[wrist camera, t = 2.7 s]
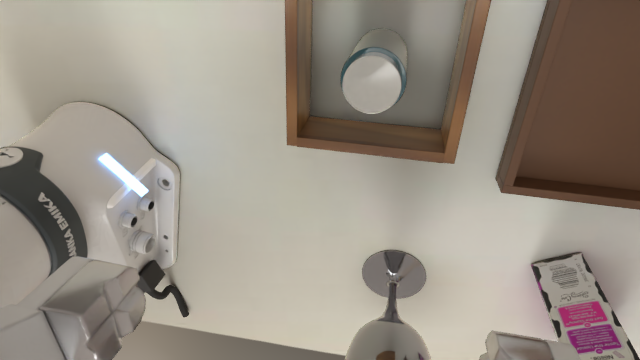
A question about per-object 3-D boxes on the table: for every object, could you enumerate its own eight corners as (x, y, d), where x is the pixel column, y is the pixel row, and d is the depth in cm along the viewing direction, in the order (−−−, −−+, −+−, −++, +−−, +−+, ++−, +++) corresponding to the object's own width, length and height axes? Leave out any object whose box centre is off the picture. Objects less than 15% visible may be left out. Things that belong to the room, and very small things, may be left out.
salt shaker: (403, 83, 34) (401, 121, 26) (353, 79, 34) (336, 115, 27) (411, 29, 32) (411, 53, 24) (356, 26, 32) (339, 48, 24)
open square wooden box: (448, 138, 35) (454, 164, 31) (301, 123, 38) (286, 145, 33) (485, -34, 29) (498, -33, 24) (302, -41, 31) (284, -40, 26)
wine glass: (373, 237, 42) (356, 358, 30) (442, 263, 42) (455, 395, 29) (349, 285, 47) (325, 410, 34) (412, 309, 46) (412, 443, 34)
